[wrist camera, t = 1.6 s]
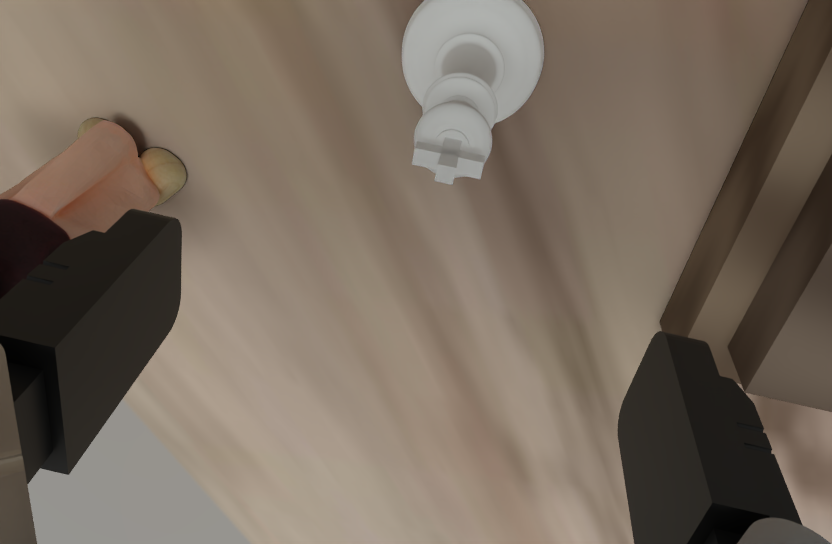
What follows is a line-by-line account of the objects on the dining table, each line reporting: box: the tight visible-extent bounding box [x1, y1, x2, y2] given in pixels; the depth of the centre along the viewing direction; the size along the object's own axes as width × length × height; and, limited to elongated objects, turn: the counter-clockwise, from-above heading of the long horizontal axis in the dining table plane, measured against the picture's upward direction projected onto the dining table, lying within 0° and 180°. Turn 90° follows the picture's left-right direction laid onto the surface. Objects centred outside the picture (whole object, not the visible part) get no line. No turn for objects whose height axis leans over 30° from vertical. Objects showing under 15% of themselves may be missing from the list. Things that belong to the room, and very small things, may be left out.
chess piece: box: [402, 0, 544, 185], centre depth 21 cm, size 5×5×10 cm
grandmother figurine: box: [0, 118, 187, 299], centre depth 24 cm, size 8×4×13 cm, turn 72°
